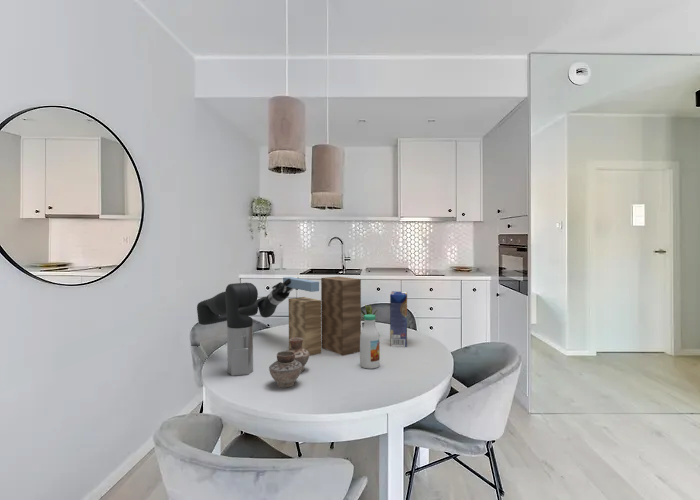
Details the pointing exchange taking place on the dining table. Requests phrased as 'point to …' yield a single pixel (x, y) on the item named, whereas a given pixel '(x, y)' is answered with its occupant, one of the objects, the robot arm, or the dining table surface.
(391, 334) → the juice carton
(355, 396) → the dining table surface
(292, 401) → the dining table surface
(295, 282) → the rod
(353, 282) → the tall stand
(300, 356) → the pottery
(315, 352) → the lower block
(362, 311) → the house plant
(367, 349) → the milk bottle
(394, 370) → the dining table surface
